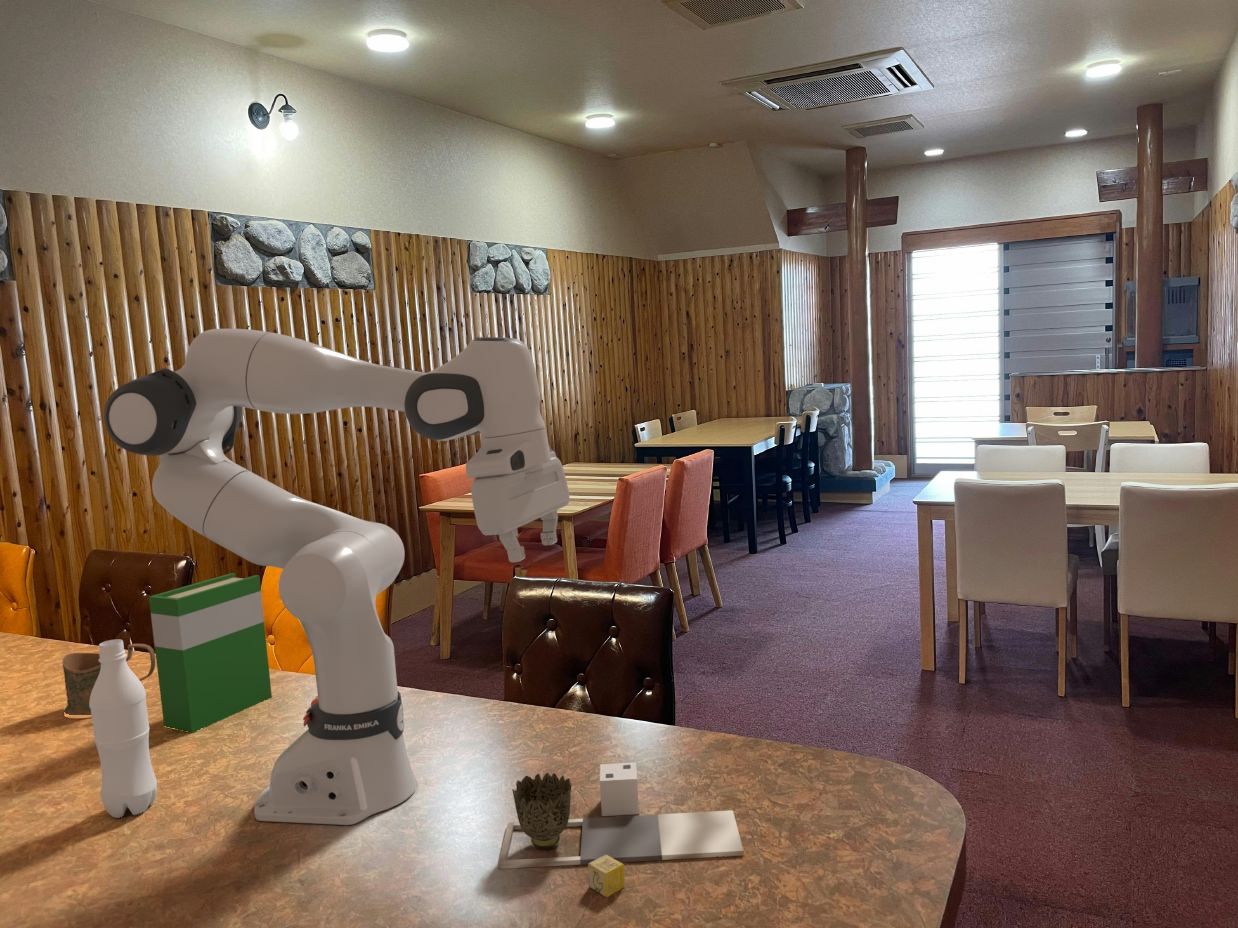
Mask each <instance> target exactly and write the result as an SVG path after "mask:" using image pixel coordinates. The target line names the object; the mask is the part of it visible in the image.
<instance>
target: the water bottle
mask: <svg viewBox="0 0 1238 928" xmlns="http://www.w3.org/2000/svg"><path fill="white" fill-rule="evenodd" d="M98 649H99V654H100V655H99V657H100V658H99V662H100V663H101V669H100V673H99V676H98V678H97V680H96V682H95V685H94V687H93V690H92V692H91V695H90V701H89V707H90V709H91V715H92V718H91V721H92V729H93V737H94V738H93V741H94V743H95V746H96V750H97V752H98V757H99V762H100V769H101V770H100V771H101V787H100V788H101V789H100V800H101V802H102V805H103V807H104V809H105V810H106V812H107V813H108V814H109V815H110V817H112V818H115V819H120V817H121V818H123V817H122V816H125V813H126V811H127V809H129V811H130V812H131V814H132V815H133V816H136V815H137V814H138V815H140V814H142V812H143V813H144V812H145V811H147V809H148V808H149V807H150V806H152V805H153V804H154V803H155V800H156V797H157V793H158V782H157V778H156V774H155V772H154V768H153V765H152V761H151V757H150V756H151V755H150V747H149V745H150V743H149V739H150V738H149V736H150V729H151V728H150V724H149V723H150V722H149V714H148V707H147V699H146V697H147V692H146V689H145V687H144V685H143V683H142V682H141V681H140V680H139V679H140V678H138V677H137V675H136V674H135V673H134V671H133V670H132V669H131V668H130V667H129V665H128V663H127V662H128V661H127V662H126V659H127V657H128V653H126V650H125V647H124V640H123V639H120V638H119V639H110V640H105V641H103V642H101V643H99V644H98ZM151 804H152V805H151ZM149 805H150V806H149ZM139 813H140V814H139Z"/></svg>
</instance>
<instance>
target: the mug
mask: <svg viewBox="0 0 1238 928" xmlns="http://www.w3.org/2000/svg"><path fill="white" fill-rule="evenodd" d="M134 648H141V649H145V650H147V651H148V653H149V657H150V669H149V672H148V673H147V675H145V676H142V677H141V678H138V679H139V680H140V682H141V681H144V680H145V679H147V678H149V677H150V676H151V675H152V674H153V673H154V671H155V668H156V653H155V649H153V647H151V646H150V645H148V644H145V643H131V644H128V645H127V657H126V658H125V659H126V662H128V661H130V660H131V658H132V656H133V649H134ZM99 655H100V653H97V652H72V653H68V654H65V656H63V657H62V668H63V676H64V683H65V690H66V693H65V694H66V695H65V696H66V698H67V699H66V702H67V705H66V707H65V708H64V709H65V710H63V711H64V712H65V713H66V714H69V715H91V709H90V707H89V701H90V695H91V692H92V690H93V687H94V685H95V682H96V680H97V678H98V676H99V673H100V669H101V663H100V662H99V658H100V657H99Z"/></svg>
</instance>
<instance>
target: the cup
mask: <svg viewBox="0 0 1238 928" xmlns="http://www.w3.org/2000/svg"><path fill="white" fill-rule="evenodd" d="M540 775H541V774H540V773H536V774H535V776H534V778H532V777H531V776H530V775H525V776H524V777H523V778H522V780H521V781H520V780H516V782H515V786H516V788H515V789H513V788H512V789H511V790H512V791H511V792H512V794H513V800H514V805H515V811H516V815H517V816H516V817H517V820H518V822H519V823H520V826H521V828H522V829H521V830H522V832H523V833H524V834H525V835H526V836H527V837H529V838H530V842H531V845H532V847H534V848H535V849H536V850H539V851H540V850H541V851H548V850H552V849H554V848H556V847H557V846H558V844H559V843H560V840H561V836H560V835H561V834H562V833H563V832H564V831H565V829H566V828H567V827H566V826H567V823H568V820H569V819H570V814H571V813H570V812H571V801H572V800H571V797H572V783H571V779H570V778H567V779H566V778H565V776H564V775H563V774H562V775H561V777H560V779H559V777H558V776H557V774H556V773H552V775H551V774H550V773H549V772H546V773H545V774H544V775H543V777H542V778H541V776H540Z"/></svg>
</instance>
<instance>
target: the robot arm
mask: <svg viewBox="0 0 1238 928" xmlns="http://www.w3.org/2000/svg"><path fill="white" fill-rule="evenodd" d="M184 361H185V362H184V364H183V365H182V367H181V368H179V369H178V370H176V371H175V370H174V371H173V370H172V369H170V368H169V369H168V368H159V369H158V370H155V371H154V372H150V373H149V374H148V373H147V374H146V375H143V376H140V377H138V378H135V379H132V380H130V381H128V382H125V383H124V384H122V385H120V386H119V387H118V388H116V389H115V390H114V391H113V392H111V394H110V395H109V397H108V398H107V400H106V403H105V405H104V410H103V421H104V427H105V428H106V432H107V433H108V435H109V437H110V438H111V440H112V441H113V442H114V443H115V444H116V445H117V446H118V447H119V448H122V449H123V450H125V451H127V452H130V453H132V454H136V455H140V456H147V457H148V456H149V457H150V456H151V457H155V456H158V458H159V459H158V460H159V465H158V467H157V468H156V470H155V472H154V475H153V478H152V483H151V484H152V485H151V489H152V494H153V497H154V499H155V500H156V501H157V503H158V505H159V504H160V505H161V506H162V507H163V509H165V510H166V511H167V512H168V513H169V514H171V515H172V516H174V518H176V519H177V520H179V521H180V522H181V523H183V524H184V525H185V526H187V527H188V528H190V529H192V530H193V531H194V532H196V533H197V534H200V535H201V536H203V537H205V538H207V540H209V541H212V542H214V543H215V544H217V545H219V546H221V547H222V548H224V549H226V550H228V551H230V552H231V553H233V554H235V555H237V556H238V557H241V558H242V559H245V560H246V561H248V562H250V563H252V564H255V565H258V566H262V567H263V566H265V567H274V568H278V569H282V570H281V572H280V575H279V579H278V592H279V596H280V599H281V602H282V604H283V606H284V607H285V609H286V610H287V611H288V612H289V614H291V616H293V617H294V618H296V619H297V620H299V622H300V623H301V626H302V628H303V630H304V632H305V636H306V638H307V641H308V645H309V646H310V650H311V654H312V658H313V665H314V673H315V682H316V691H317V695H316V696H315V698H314V699H312V701H311V703H310V706H309V708H308V709H307V710H306V712H305V713H306V714H304V717H303V719H302V720H303V726H304V727H305V726H307V730H306V731H305V732H303V733H302V734H301V735H300V736H299V737H298V738H297V739H295V740H294V741H293V742H292V743H291V744H290V745H289V746H288V747H287V748H286V749H285V750H283V751H282V753H281V754H280V755H279V756H278V758H277V759H276V761H275V762H274V764H273V767H272V771H271V774H270V780H269V784H268V785H267V786H266V787H265V788H264V789H263V791H262V792H261V793H260V794H259V796H258V798H257V799H256V802H255V803H254V808H253V809H254V811H253V812H254V813H253V814H254V818H255V820H256V821H261V822H275V823H276V822H277V823H278V822H279V823H298V824H317V825H318V824H321V825H322V824H323V825H343V826H350V825H355V824H357V823H359V822H361V821H363V820H364V819H367V818H368V817H369V816H372V815H374V814H377V813H381V812H382V811H386V810H389V809H391V808H393V807H395V806H397V805H400V804H401V803H403V802H405V801H406V800H408V798H409V797H411V795H413V793H414V792H415V791H416V789H417V788H418V787H417V786H418V781H417V779H416V778H417V777H416V776H415V774H414V772H413V769H412V766H411V763H410V759H409V755H408V752H407V748H406V743H405V738H404V734H403V733H404V729H405V715H404V705H403V704H402V703H403V702H402V695H401V692H400V691H398V680H397V670H396V658H395V657H396V656H395V646H394V643H393V641H392V639H391V637H390V636H388V635H387V634H386V633H385V632H384V629H383V627H382V623H381V621H380V618H379V615H378V612H377V606H376V600H377V599H376V598H377V595H379V594H380V593H382V592H383V591H385V590H386V589H387V588H389V587H390V586H391V585H392V584H393V582H395V580H396V578H397V577H398V575H399V573H400V571H401V569H402V568H403V566H404V563H405V554H406V553H405V552H406V551H405V546H404V543H403V541H402V539H401V537H400V535H399V534H398V533H397V531H395V530H394V529H393V528H392V527H390V526H388V525H386V524H384V523H381V522H380V523H379V522H374V521H369V520H365V519H361V518H358V517H355V516H352V515H349V514H347V513H345V512H342V511H339V510H337V509H333V508H331V507H328V506H325V505H321V504H319V503H316V502H312V501H310V500H307V499H305V498H302V497H300V496H298V495H295V494H293V493H292V492H289V491H287V490H286V489H284V488H281V486H278V485H276V484H275V483H272V482H271V481H269V480H267V479H265V478H263V477H262V476H260V475H258V474H256V473H254V472H252V471H250V470H248V469H247V468H245V467H243V466H241V465H240V464H237V463H236V462H234V461H232V460H230V458H228V457H227V456H226V454H229V452H231V450H232V449H233V448H234V446H235V444H236V443H235V441H236V434H237V433H238V430H239V427H240V425H241V422H242V417H243V408H246V409H251V410H256V411H261V412H267V413H272V414H273V413H274V414H283V415H285V414H287V415H288V414H289V415H303V414H306V415H307V414H316V413H321V412H322V413H323V412H327V411H335V410H341V409H348V408H357V407H359V408H360V407H361V408H362V407H364V408H365V407H366V408H367V407H368V408H379V409H384V410H391V411H396V412H403V413H405V418H406V419H407V421H408V424H409V425H410V427H411V428H412V429H413V430H414V431H415V432H416V433H417V434H418V435H420V436H421V437H423V438H425V439H429V440H434V441H441V442H443V441H446V442H447V441H450V440H455V439H460V438H462V437H465V436H466V437H467V436H475V435H481V442H482V446H481V447H480V448H479V449H478V451H477V452H475V454H474V455H473V456H472V457H471V458H470V459H469V460H468V461H467V462H466V464H465V472H466V475H467V478H468V479H473V480H472V482H471V485H470V491H471V492H470V493H471V498H472V499H471V500H472V506H473V511H474V512H473V513H474V516H475V520H476V525H477V527H478V530H480V532H481V533H482V535H484V536H496V535H497V536H499V537H498V538H499V540H500V543H502V545H503V546H504V549H505V550H506V551H507V552H506V553H507V557H508V561H509V563H519V562H521V561H523V560H524V559H526V553H525V547H524V546H523V545H521V544H520V543H519V540H518V538H517V537H518V536H519V532H518V528H520V527H522V526H525V525H527V524H529V523H531V522H533V521H536V520H538V519H540V520H541V521H542V532H541V533H540V539H541V544H542V545H543V546H552V545H554V544H556V543H558V537H557V536H558V535H557V526H558V522H559V521H558V520H559V515H558V510H560V509H563V508H565V507H567V506H569V502H570V490H569V486H568V482H567V477H566V474H565V470H564V466H563V464H562V462H561V460H560V459H559V458H558V457H557V455H556V452H555V451H554V450H553V449H552V448H551V446H550V445H549V439H548V434H547V431H548V430H547V427H546V423H545V420H544V419H543V415H542V414H541V391H540V385H539V381H538V375H537V371H536V368H535V364H534V360H533V357H532V353H531V351H530V349H529V347H528V345H527V344H525V343H524V342H523V341H522V340H520V339H518V338H514V337H499V336H498V337H495V336H494V337H493V336H484V337H476V338H473V339H472V340H470V341H469V343H468V344H467V346H466V347H465V348H464V349H463V350H462V351H461V352H459V353H458V354H456V356H455V357H453V358H452V359H450V360H449V361H447V362H446V363H444V364H442V365H440V366H438V367H436V368H433V370H431V371H428V372H427V371H426V372H425V371H419V370H413V369H407V368H401V367H395V366H390V365H385V364H384V365H382V364H378V363H372V362H369V361H367V360H362V359H359V358H356V357H353V356H351V355H347V354H344V353H342V352H339V351H337V350H333V349H330V348H328V347H325V346H321V345H319V344H317V343H316V344H315V343H313V342H310V341H307V340H304V339H301V338H297V337H294V336H289V335H286V334H281V333H277V332H272V331H263V330H256V329H248V328H247V329H245V328H212V329H208V330H204V331H202V332H201V333H199V334H198V335H197V336H196V337H195V338H193V340H192V341H191V343H190V344H189V346H188V348H187V351H186V356H185V360H184ZM226 448H227V449H226Z"/></svg>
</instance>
